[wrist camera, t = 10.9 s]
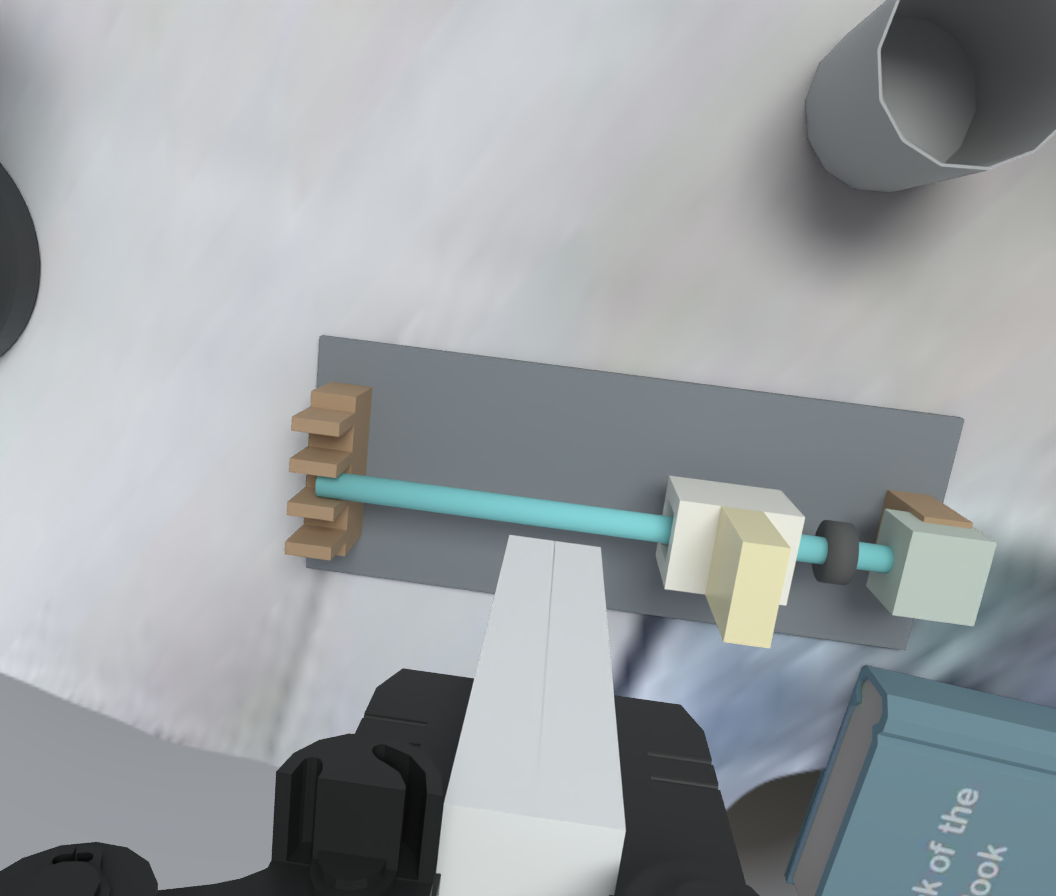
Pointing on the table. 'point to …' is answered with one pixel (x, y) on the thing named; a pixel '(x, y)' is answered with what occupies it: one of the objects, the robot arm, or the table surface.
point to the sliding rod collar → (732, 553)
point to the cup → (935, 91)
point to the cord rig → (625, 483)
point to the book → (932, 796)
